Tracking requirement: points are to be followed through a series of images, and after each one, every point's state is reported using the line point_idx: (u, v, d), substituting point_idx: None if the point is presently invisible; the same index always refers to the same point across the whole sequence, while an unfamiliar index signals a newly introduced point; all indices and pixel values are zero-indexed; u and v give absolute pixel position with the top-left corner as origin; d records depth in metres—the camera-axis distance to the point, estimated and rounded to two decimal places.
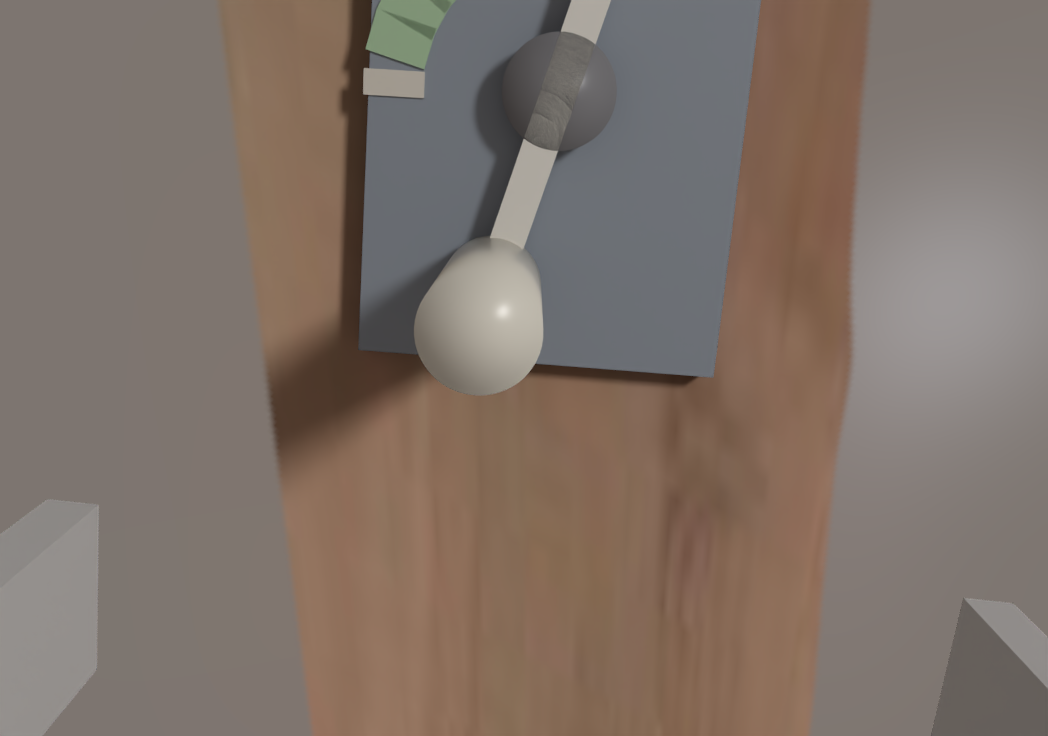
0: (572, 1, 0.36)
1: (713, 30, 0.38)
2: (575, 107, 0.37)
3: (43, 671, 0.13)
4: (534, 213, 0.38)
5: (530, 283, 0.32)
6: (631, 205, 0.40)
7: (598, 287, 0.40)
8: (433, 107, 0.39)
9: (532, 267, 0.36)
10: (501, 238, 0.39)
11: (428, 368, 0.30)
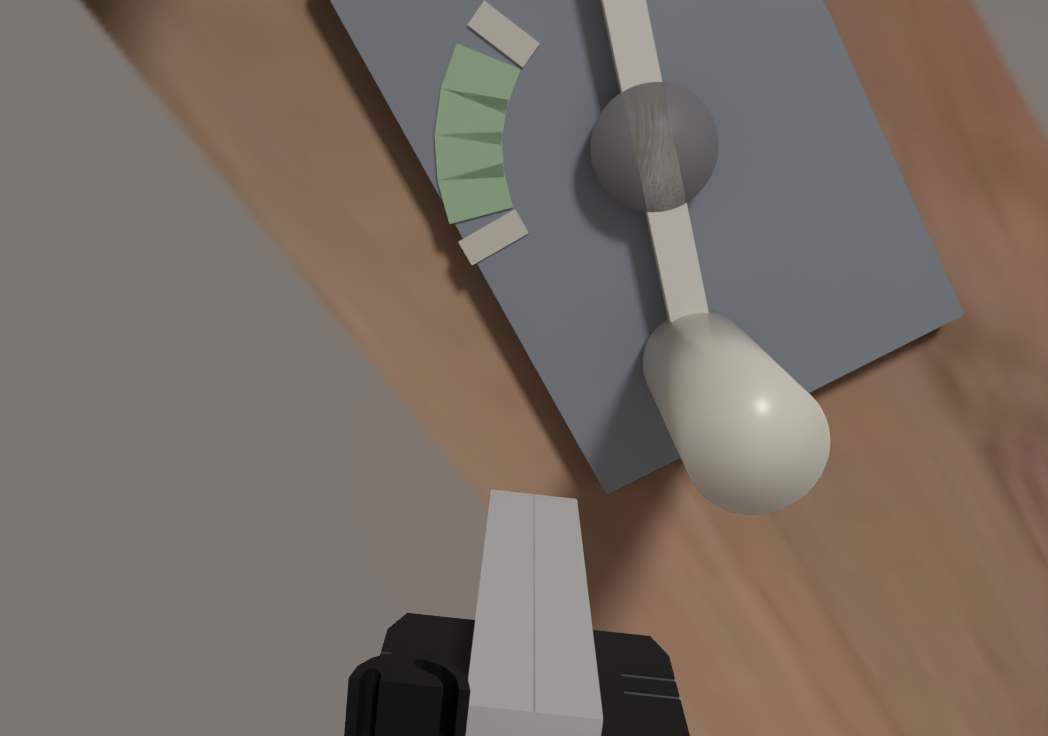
0: (616, 57, 0.33)
1: None
2: (678, 151, 0.34)
3: None
4: (699, 273, 0.35)
5: (766, 360, 0.28)
6: (783, 204, 0.35)
7: (798, 300, 0.36)
8: (542, 235, 0.36)
9: (737, 330, 0.33)
10: (682, 316, 0.35)
11: (727, 508, 0.27)
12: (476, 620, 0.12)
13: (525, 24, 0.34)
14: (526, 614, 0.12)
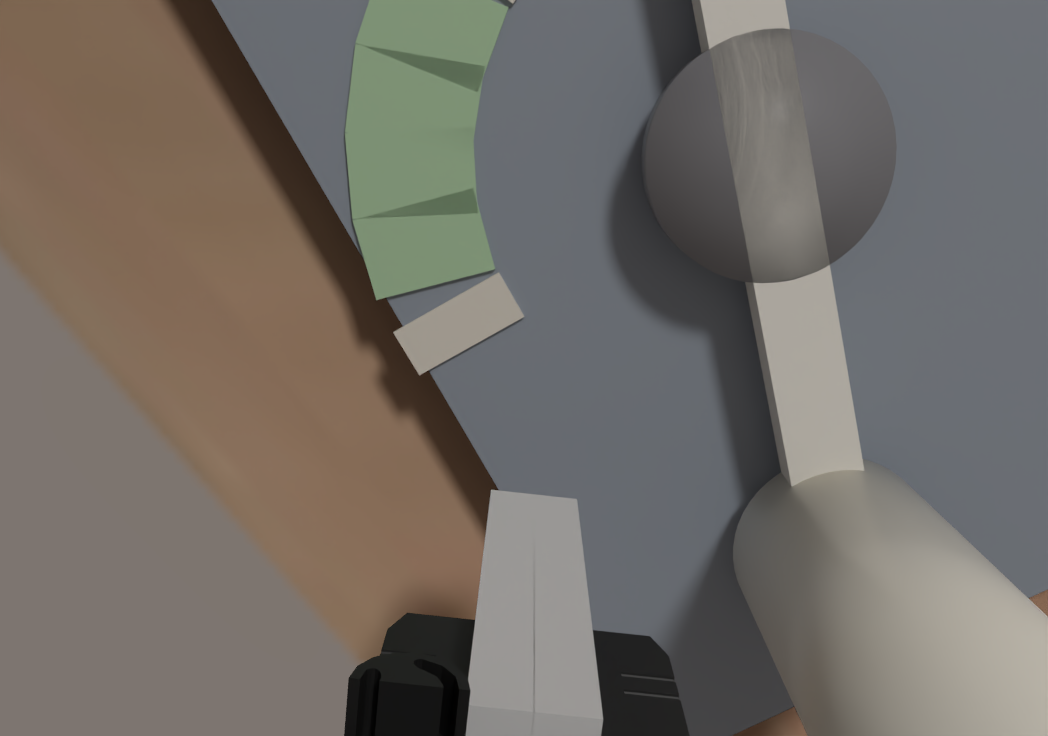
0: None
1: None
2: (817, 166, 0.17)
3: None
4: (848, 397, 0.18)
5: None
6: (1001, 264, 0.19)
7: (1018, 437, 0.20)
8: (549, 320, 0.19)
9: (942, 526, 0.16)
10: (814, 476, 0.19)
11: None
12: (476, 620, 0.12)
13: None
14: (526, 614, 0.12)
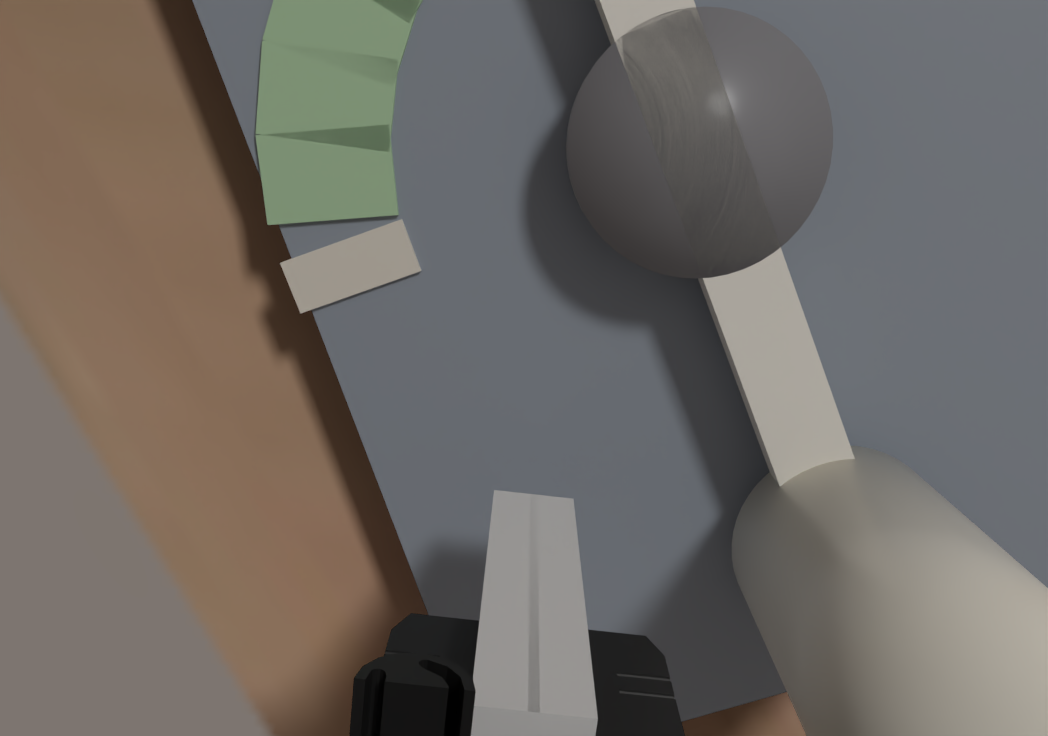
0: None
1: None
2: (750, 146, 0.16)
3: None
4: (825, 384, 0.17)
5: None
6: (924, 305, 0.18)
7: None
8: (447, 280, 0.18)
9: (938, 510, 0.15)
10: (802, 472, 0.17)
11: None
12: (480, 620, 0.12)
13: None
14: (522, 614, 0.12)
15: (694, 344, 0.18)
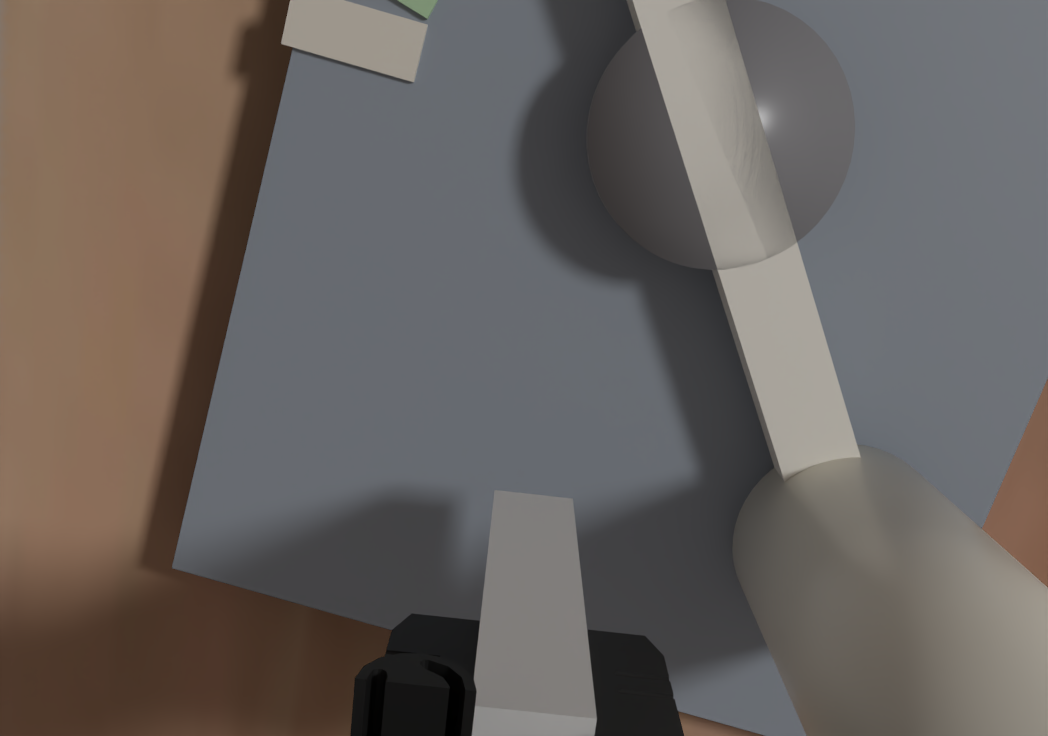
0: None
1: None
2: (771, 139, 0.16)
3: None
4: (834, 381, 0.17)
5: None
6: None
7: (693, 550, 0.19)
8: (430, 107, 0.17)
9: (943, 510, 0.15)
10: (807, 468, 0.17)
11: None
12: (481, 620, 0.12)
13: None
14: (521, 614, 0.12)
15: (600, 308, 0.18)
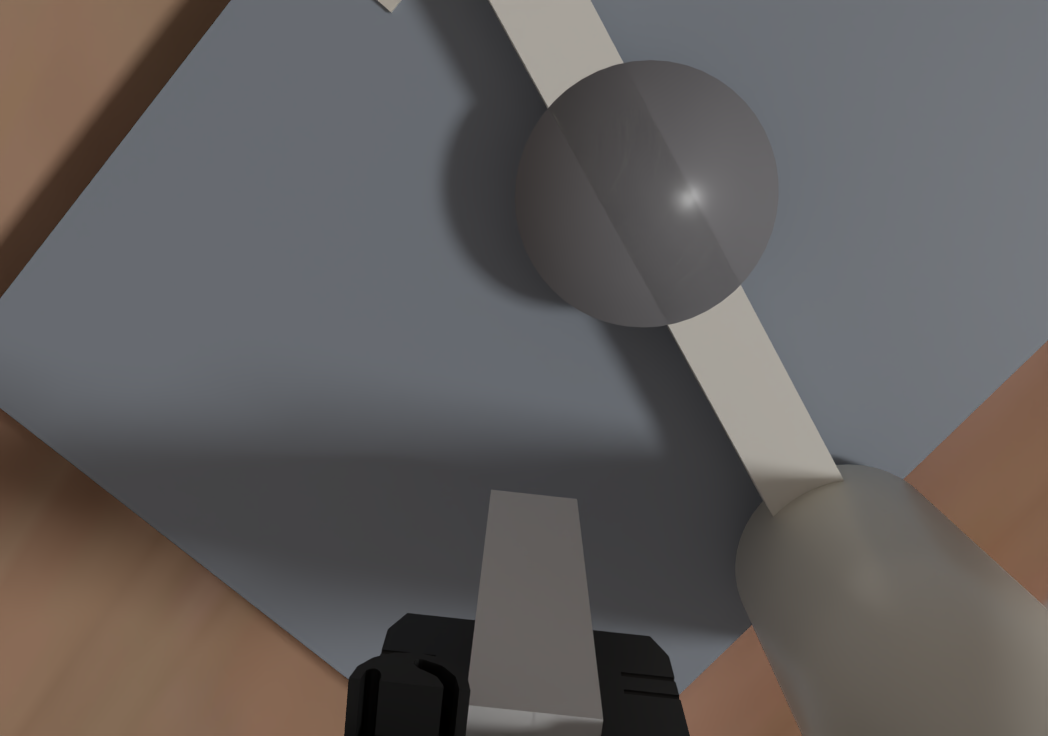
0: (516, 41, 0.16)
1: (974, 290, 0.18)
2: (696, 190, 0.16)
3: None
4: (804, 411, 0.17)
5: None
6: (617, 472, 0.19)
7: (460, 563, 0.19)
8: (397, 43, 0.17)
9: (927, 531, 0.15)
10: (793, 500, 0.17)
11: None
12: (476, 620, 0.12)
13: None
14: (526, 614, 0.12)
15: (472, 304, 0.18)
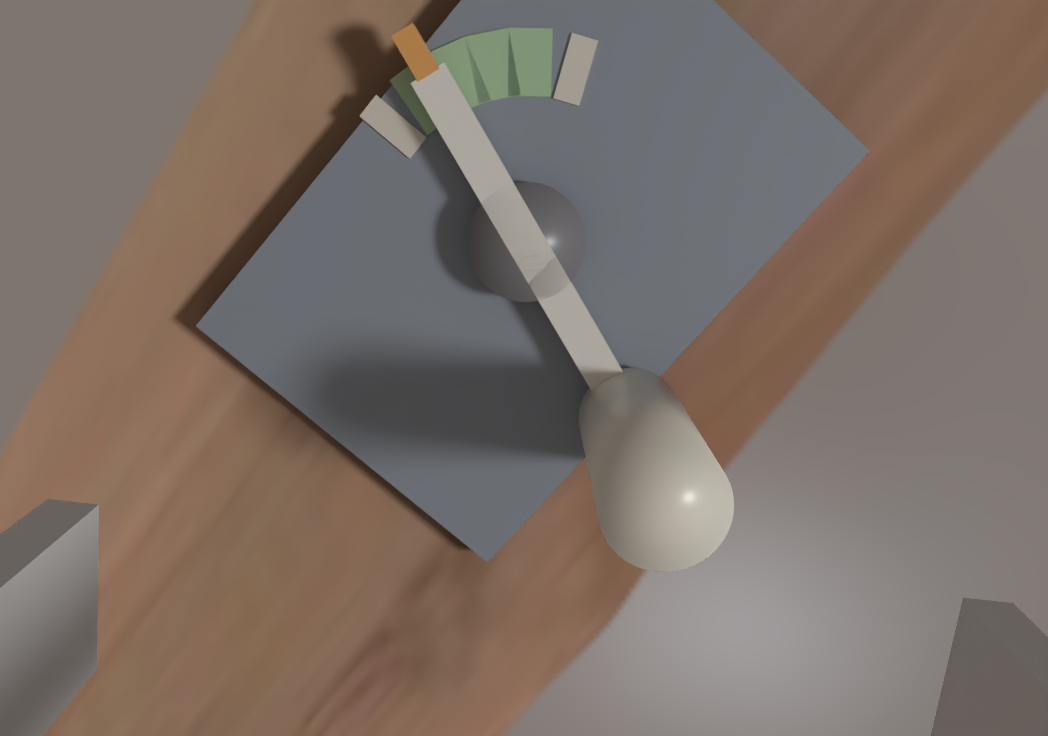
0: (466, 175, 0.35)
1: (687, 284, 0.38)
2: (548, 239, 0.36)
3: (43, 671, 0.13)
4: (603, 340, 0.37)
5: (660, 422, 0.30)
6: (520, 374, 0.38)
7: (444, 421, 0.39)
8: (412, 172, 0.37)
9: (645, 387, 0.35)
10: (600, 383, 0.37)
11: (658, 570, 0.29)
12: None
13: (590, 86, 0.36)
14: None
15: (449, 293, 0.38)
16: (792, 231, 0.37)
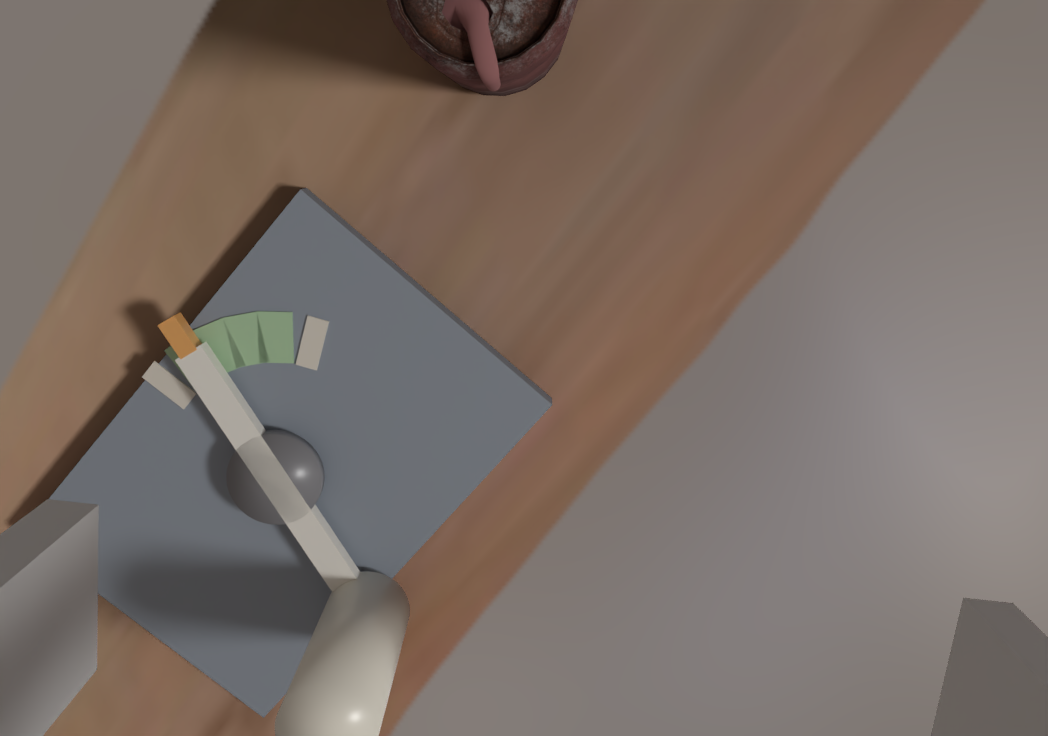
0: (222, 429, 0.45)
1: (412, 505, 0.47)
2: (291, 477, 0.45)
3: (43, 671, 0.13)
4: (339, 554, 0.46)
5: (338, 654, 0.40)
6: (282, 573, 0.48)
7: (223, 609, 0.48)
8: (187, 419, 0.46)
9: (360, 601, 0.44)
10: (338, 586, 0.46)
11: None
12: None
13: (325, 355, 0.45)
14: None
15: (221, 510, 0.47)
16: (494, 465, 0.46)
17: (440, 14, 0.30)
